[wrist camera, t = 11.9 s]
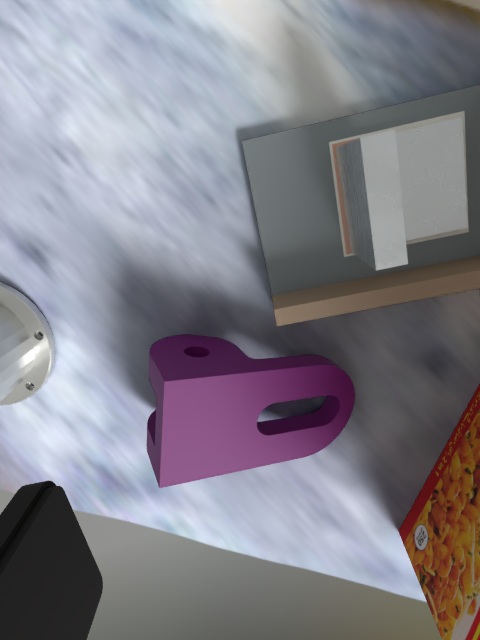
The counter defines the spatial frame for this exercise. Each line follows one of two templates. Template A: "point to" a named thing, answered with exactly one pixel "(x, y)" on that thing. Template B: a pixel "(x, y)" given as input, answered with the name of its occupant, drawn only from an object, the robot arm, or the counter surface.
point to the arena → (329, 223)
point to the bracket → (402, 189)
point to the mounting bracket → (236, 408)
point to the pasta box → (450, 532)
